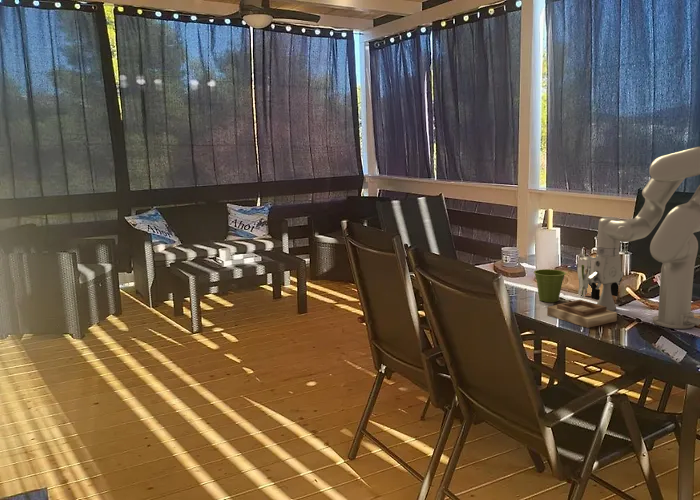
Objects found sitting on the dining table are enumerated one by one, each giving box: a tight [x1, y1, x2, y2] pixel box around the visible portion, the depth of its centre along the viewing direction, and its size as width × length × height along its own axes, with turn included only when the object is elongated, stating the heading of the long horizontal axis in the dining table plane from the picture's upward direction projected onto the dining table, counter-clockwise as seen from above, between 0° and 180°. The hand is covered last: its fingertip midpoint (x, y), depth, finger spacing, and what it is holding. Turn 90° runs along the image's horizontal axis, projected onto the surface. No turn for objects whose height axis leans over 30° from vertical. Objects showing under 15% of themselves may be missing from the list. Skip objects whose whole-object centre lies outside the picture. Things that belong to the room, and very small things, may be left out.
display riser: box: [546, 299, 618, 329], centre depth 214 cm, size 18×14×4 cm
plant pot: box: [533, 268, 567, 303], centre depth 237 cm, size 12×12×11 cm
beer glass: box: [577, 256, 596, 297], centre depth 243 cm, size 7×7×15 cm
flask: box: [596, 283, 617, 312], centre depth 223 cm, size 7×7×10 cm
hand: (604, 297), depth 224 cm, fingers open, 9 cm apart
